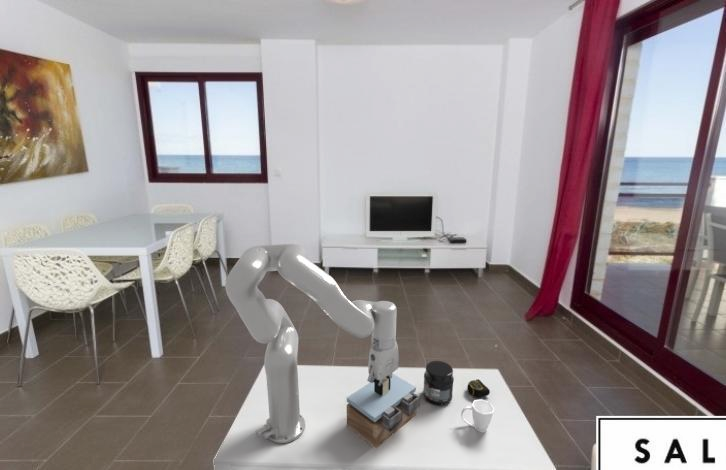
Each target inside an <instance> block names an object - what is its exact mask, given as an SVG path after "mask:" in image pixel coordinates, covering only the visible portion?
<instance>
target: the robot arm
mask: <svg viewBox="0 0 726 470" xmlns="http://www.w3.org/2000/svg"><path fill="white" fill-rule="evenodd" d="M276 271H277V273H278V274H279V275H280V276H281V277H282V278H283V279H284V280H285V281H287V282H288V283H289V284H291V285H292V286H294V287H296V288H297V289H298V290H300V291H301V292H302V293H304V294H305V295H307V296H308V297H309V298H311V299H312V300H313V301H314V302H315V303H316V304H317V305H318V306H319V307H320V308H321V310H322V311H323V312H324V313H325V314H326V315H327V316H328V317H329V319H331V320H332V321H333V322H334V323H335V324H336V325H337V326H338V327H340V328H341V329H343V330H344V331H345V332H347V333H348V334H349V335H351V336H354V337H356V338H359V339H364V338H365V339H366V338H368V337H369V336H371V343H370V347H369V348H370V350H369V354H368V355H369V356H368V366H367V369H368V377H367V380H366V381H367V382H369V383H374V391H375V392H376V393H377V394H379V395H380V396H382V395H383V384H382V379H383V378H385V377H386V378H388V379H389V390H390V383H391V378H392V374H394V372H396V370H398V369H399V362H400V361H399V347H398V342H397V338H396V337H397V336H396V335H397V315H398V314H397V313H398V310H397V309H398V308H397V306H396V304H395V303H394V302H391V301H388V300H379V301H370V300H365V299H364V300H363V299H356V300H353V301H350V300H349V299H348V298H347V296H346V295H345V294H344V293H343V291H342V290H341V288H340V286H339V284H338V283H337V281H336V280H335V279H334V278H333V277H332V276H331V275H330V274H328V273H327V272H326V271H324V270H323V269H322V268H320V267H319V266H318V265H316V264H315V263H314V262H312V261H311V260H310V259H308V253H307V251H306V249H305V248H304V247H303V246H301V245H298V244H293V243H292V244H289V243H287V244H286V243H285V244H267V245H266V244H264V245H255V246H251V247H249V248H247V249H245V251H243V253H242V254H241V255H240V258H239V259H238V260H237V262H235V265H233V267H232V268H231V269H230V271H229V273H228V274H227V277H226V280H225V292H226V293H225V294H226V295H227V297H228V298H229V301H230V302H231V304H232V306H233V308H235V310H236V311H237V313H238V315H239V317H240V319H241V320H242V323H244V326H245V327H246V328H247V330H248V332H249V334H250V336H251V337H252V338H253V340H255V341H256V342H257V343H260V344H267V345H266V350H265V353H264V360H263V361H264V362H263V364H264V370H265V377H266V378H265V379H266V387H267V388H266V389H267V399H268V400H267V401H268V403H267V405H268V414H269V415H268V416H269V417H268V418H267V419H266V423H265V424H264V426H263V427H261V428H259V429H257V430H256V431H255V435H256V438H259V437H261V436H263V438H264V440H267V439H268V440H269V441H271V442H272V443H276V444H287V443H291V442H293V441H295V440H297V439H299V438H300V437H301V436H302V434H303V433H304V431H305V427H306V420H305V418H304V417H303V415H301V414H300V413H301V412H300V411H301V410H300V388H299V386H300V385H299V372H298V370H299V369H298V353H299V335H298V332H297V329H296V328H295V326H294V324H293V322H292V320H291V319H290V316H289V315H288V313H287V312H286V310H285V309H284V306H282V304H281V303H280V302H278V301H277V300H275V299H272V298H266V296H265V295H264V293H263V292H262V291H261V290H260V289H259V288H258V286H259V284H260V283H261V281H263V279H264V277H265V275H266V273H267V272H276ZM377 379H378V380H377Z"/></svg>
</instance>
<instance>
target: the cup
mask: <svg viewBox="0 0 726 470" xmlns="http://www.w3.org/2000/svg"><path fill="white" fill-rule="evenodd" d="M466 410H470V411H471V412H472V421H473V424H472V423H470V422H469V421H467V420H466V419H465V417H464V416H463V414H464V412H465V411H466ZM494 411H495V407H494V406H493V405H492V403H491V402H490V401H487V400H484V399H483V398H479V399H475V400H473V402H472V404H471V406H464V407H463V408H462V409H461V414H460V416H461V419H462V421H463V422H464V423H465V424H467V425H468V426H470V427H472V428H474V429H475V430H476V431H477V432H480V433H486V432H488V430H489V425H490V424H491V420H492V417H493V414H494Z"/></svg>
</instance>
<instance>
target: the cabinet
mask: <svg viewBox="0 0 726 470" xmlns="http://www.w3.org/2000/svg"><path fill="white" fill-rule="evenodd" d="M411 395H413V400H411V401H410V402H409V403H407V402H405V401H404V400H402V402H401V403H400V404H398V405H397V406H396V407H395V406H394V407H393V408H394V409H395V414H394V415H392V416H391V417H390V418H389V417H387V416H386V415H384V414H383V416H382V417H381V418H380V419H379V420H377V421H376V422H374V421H372V420H371V419H370V418H368V417H367V416H366V415H364V414H363V413H362V412H360V411H359V410H357V409H356V408H355V407H353V406H352V405H351V404H349V403H347V404H346V426H347V428H349V429H350V430H351V431H353V432H354V433H355V434H357V436H359V437H360V438H362V439H363V441H365V442H367V443H368V444H369V445H370V446H371V447H372V448H374V449H377V448H378V447H380V446H381V445H382V444H383V443H385V442H386V440H388V439H389V438H390V437H392V436H393V435H394V434H396V432H398V431H399V430H401V428H402V427H404V426H405V425H406V424H407V423H408V422H410V421H411V420H412V419H413V418H415V416H416V415H417V410H419V408H420V404H421V397H420V396H419V395H417V394H416V393H415V392H414V393H411Z"/></svg>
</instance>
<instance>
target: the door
mask: <svg viewBox="0 0 726 470" xmlns="http://www.w3.org/2000/svg"><path fill="white" fill-rule="evenodd" d="M377 380H378V379H377ZM382 384H383V395H382V396H380V395H379V394H377V393H376V392H375V391H374V383H370V382H369V383H367V384H365V385H364V386H363V387H361V388H359V389H358V390H356V391H355V392H353V393H352V394H350V395H349V396H347V397H346V402H347V404H351V405H352V406H353V407H355V408H356V409H357V410H359V411H360V412H362V413H363V414H364V415H366V416H367V417H368V418H370V419H371V420H372V421H374V422H376V421H377V420H379V419H380V418H381V417H382V416H383V414H384V415H386V416H387V417H389V418H390V417H391V416H392V415H394V414H395V409H394V408H393V407H394V406H395V407H396V406H397V405H398V404H400V403H401V402H402V400H404V401H405V402H407V403H409V402H410V401H411V400H413V395H411V393H414V394H415V392H416V391H417V387H416V386H415V385H413V384H411V383H409V382H408V381H406V380H405V379H402V378H401V377H399V376H398V375H396V374H394V373H392V378H391V383H390V390H389V379H388V378H386V377H385V378H383V379H382Z"/></svg>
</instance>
